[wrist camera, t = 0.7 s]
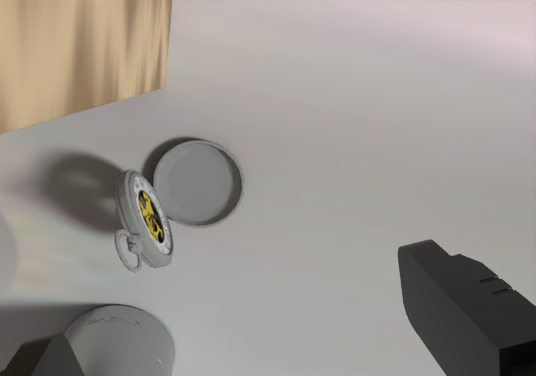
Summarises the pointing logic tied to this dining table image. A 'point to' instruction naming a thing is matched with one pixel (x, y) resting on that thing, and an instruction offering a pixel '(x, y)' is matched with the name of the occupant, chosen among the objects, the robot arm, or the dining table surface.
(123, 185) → the pocket watch
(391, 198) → the dining table surface
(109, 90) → the oak block
